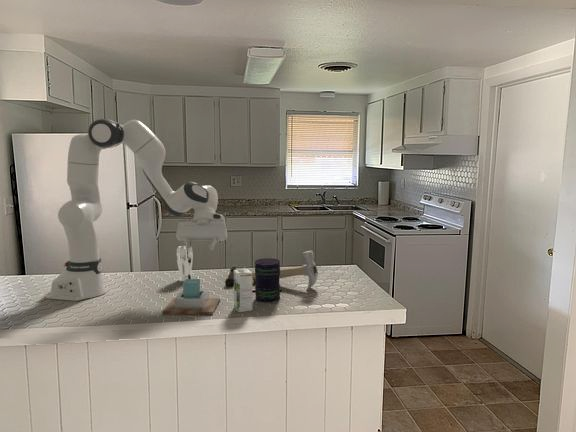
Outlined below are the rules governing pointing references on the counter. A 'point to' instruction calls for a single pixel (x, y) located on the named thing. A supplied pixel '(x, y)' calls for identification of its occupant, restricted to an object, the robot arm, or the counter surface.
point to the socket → (192, 301)
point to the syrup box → (242, 290)
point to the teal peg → (191, 288)
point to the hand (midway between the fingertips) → (199, 248)
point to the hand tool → (230, 278)
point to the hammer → (300, 269)
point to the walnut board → (208, 309)
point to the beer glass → (184, 262)
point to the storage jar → (267, 280)
